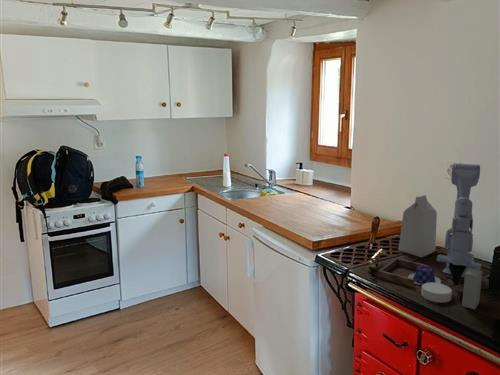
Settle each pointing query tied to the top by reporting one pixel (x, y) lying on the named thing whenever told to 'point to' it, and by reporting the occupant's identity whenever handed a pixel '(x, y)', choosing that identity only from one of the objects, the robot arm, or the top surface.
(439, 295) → the white short cylinder
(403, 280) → the holder
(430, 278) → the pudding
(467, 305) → the skincare box
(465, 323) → the top surface
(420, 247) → the milk
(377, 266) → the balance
